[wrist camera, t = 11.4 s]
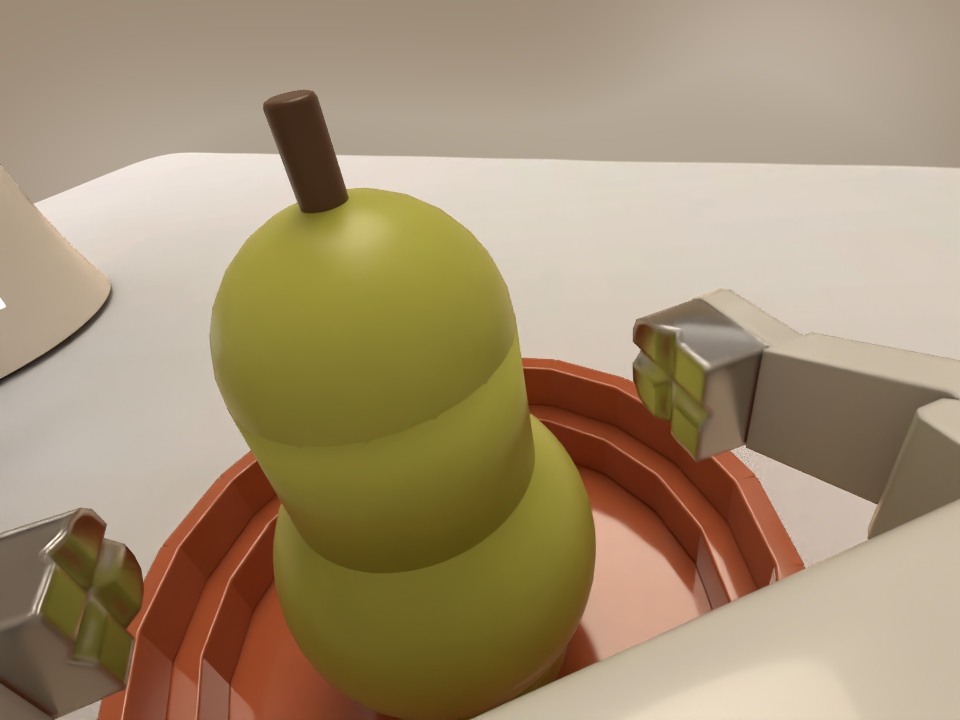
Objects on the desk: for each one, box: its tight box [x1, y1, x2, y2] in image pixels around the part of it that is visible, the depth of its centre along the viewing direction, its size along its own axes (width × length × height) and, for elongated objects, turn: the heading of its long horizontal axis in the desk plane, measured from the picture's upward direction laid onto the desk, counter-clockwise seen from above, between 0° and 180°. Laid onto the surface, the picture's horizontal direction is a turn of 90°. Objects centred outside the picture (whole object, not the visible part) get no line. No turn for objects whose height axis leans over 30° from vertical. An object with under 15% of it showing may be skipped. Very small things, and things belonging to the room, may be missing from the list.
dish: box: [97, 358, 805, 720], centre depth 12 cm, size 13×13×3 cm
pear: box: [210, 90, 596, 720], centre depth 9 cm, size 6×6×11 cm
